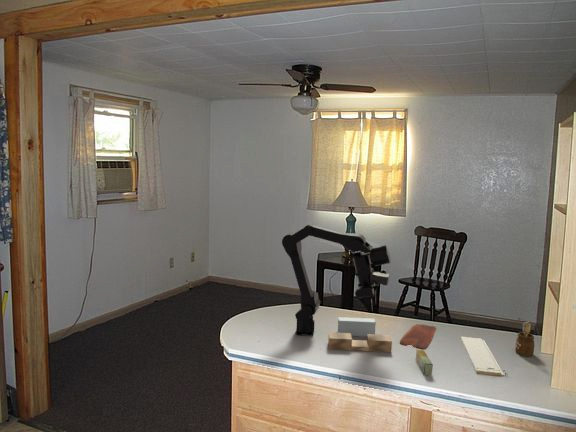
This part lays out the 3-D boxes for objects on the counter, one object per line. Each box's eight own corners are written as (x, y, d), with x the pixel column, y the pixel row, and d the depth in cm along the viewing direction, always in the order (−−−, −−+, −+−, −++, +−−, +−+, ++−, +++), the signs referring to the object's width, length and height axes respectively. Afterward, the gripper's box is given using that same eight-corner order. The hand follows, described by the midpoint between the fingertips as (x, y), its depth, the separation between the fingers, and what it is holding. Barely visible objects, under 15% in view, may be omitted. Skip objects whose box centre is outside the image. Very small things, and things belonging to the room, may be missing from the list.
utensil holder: (532, 351, 170) (535, 319, 169) (534, 358, 164) (538, 325, 163) (514, 349, 172) (517, 317, 171) (516, 355, 166) (519, 322, 165)
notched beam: (328, 349, 167) (329, 338, 166) (328, 342, 173) (328, 332, 172) (391, 352, 166) (391, 341, 165) (388, 345, 172) (389, 335, 171)
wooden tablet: (425, 351, 169) (426, 347, 169) (398, 345, 174) (398, 341, 173) (439, 328, 192) (439, 325, 192) (414, 324, 197) (415, 320, 197)
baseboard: (488, 342, 179) (460, 340, 181) (488, 335, 179) (461, 333, 181) (509, 378, 150) (475, 374, 151) (509, 369, 149) (476, 366, 151)
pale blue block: (338, 335, 181) (338, 320, 180) (337, 331, 185) (338, 317, 184) (374, 337, 180) (375, 322, 179) (373, 333, 184) (374, 318, 183)
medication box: (432, 376, 148) (433, 364, 148) (423, 376, 148) (424, 364, 148) (422, 360, 160) (424, 349, 160) (414, 360, 160) (416, 348, 160)
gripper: (381, 270, 162) (391, 313, 162) (387, 259, 179) (396, 298, 180) (350, 275, 165) (360, 318, 166) (359, 264, 183) (368, 302, 183)
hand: (372, 308), depth 174 cm, fingers open, 9 cm apart
